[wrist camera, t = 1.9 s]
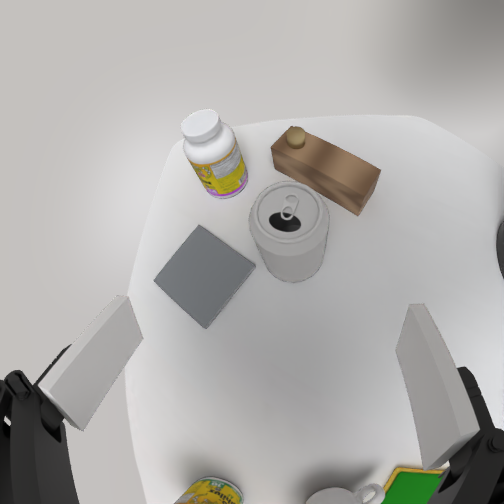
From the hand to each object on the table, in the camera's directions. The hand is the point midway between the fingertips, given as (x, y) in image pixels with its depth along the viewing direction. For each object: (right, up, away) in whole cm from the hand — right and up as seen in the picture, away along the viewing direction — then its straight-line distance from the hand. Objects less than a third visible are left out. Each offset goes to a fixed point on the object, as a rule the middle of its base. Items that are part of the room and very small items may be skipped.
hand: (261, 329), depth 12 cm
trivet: (-7, 0, +24) cm, 25 cm away
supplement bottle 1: (-4, +14, +29) cm, 32 cm away
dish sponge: (+23, -29, +8) cm, 38 cm away
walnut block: (+10, +14, +26) cm, 31 cm away
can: (+5, +3, +23) cm, 24 cm away
